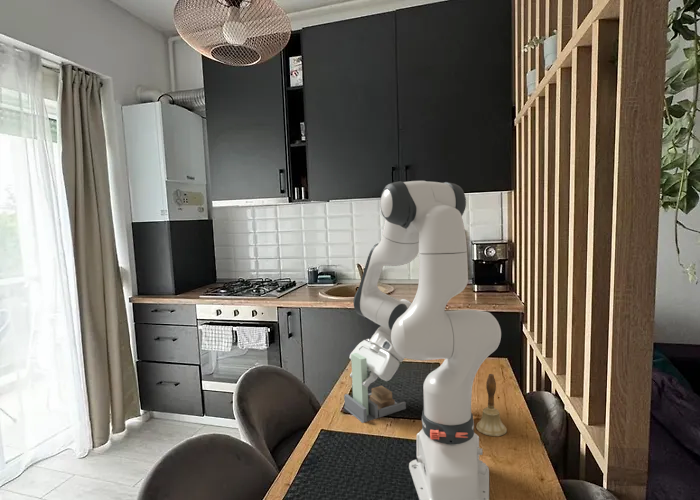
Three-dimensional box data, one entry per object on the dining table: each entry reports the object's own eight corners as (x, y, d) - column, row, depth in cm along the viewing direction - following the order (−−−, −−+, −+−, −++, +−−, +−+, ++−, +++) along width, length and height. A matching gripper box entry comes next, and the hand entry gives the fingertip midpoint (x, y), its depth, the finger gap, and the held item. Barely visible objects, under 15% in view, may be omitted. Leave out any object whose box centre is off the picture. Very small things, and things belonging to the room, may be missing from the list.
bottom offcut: (382, 399, 134) (382, 392, 134) (394, 407, 128) (394, 399, 128) (369, 403, 132) (369, 395, 132) (381, 411, 126) (381, 404, 126)
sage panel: (358, 407, 129) (356, 352, 128) (368, 415, 124) (366, 358, 123) (353, 409, 128) (351, 354, 127) (363, 416, 123) (360, 359, 122)
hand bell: (479, 419, 121) (479, 367, 120) (509, 425, 117) (508, 372, 115) (472, 432, 114) (472, 377, 113) (503, 439, 110) (503, 382, 108)
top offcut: (381, 392, 133) (381, 385, 133) (392, 399, 128) (392, 392, 128) (371, 395, 131) (371, 388, 131) (381, 403, 126) (381, 395, 126)
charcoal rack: (384, 397, 138) (384, 383, 137) (406, 411, 127) (405, 396, 127) (343, 409, 130) (342, 395, 130) (362, 426, 120) (361, 409, 119)
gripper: (360, 332, 137) (336, 366, 133) (395, 348, 119) (368, 388, 115) (371, 342, 139) (348, 376, 135) (408, 359, 121) (382, 399, 117)
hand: (357, 381), depth 125 cm, fingers closed on sage panel, 6 cm apart
